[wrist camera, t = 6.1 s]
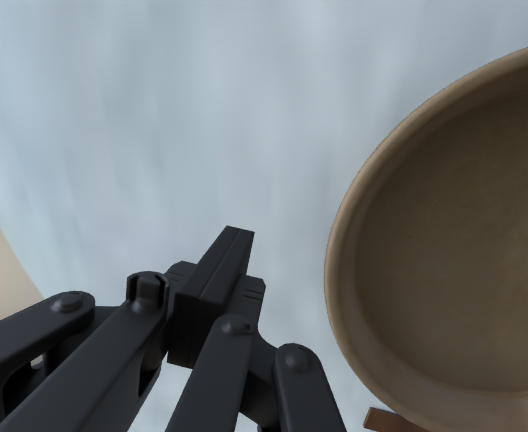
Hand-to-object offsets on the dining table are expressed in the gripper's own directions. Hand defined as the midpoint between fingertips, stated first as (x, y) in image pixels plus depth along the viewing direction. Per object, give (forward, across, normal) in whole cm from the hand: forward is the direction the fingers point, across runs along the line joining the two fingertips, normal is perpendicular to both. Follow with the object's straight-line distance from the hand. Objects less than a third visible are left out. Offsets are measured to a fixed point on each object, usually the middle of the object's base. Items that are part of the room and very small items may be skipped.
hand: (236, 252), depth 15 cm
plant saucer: (+10, +21, 0) cm, 24 cm away
